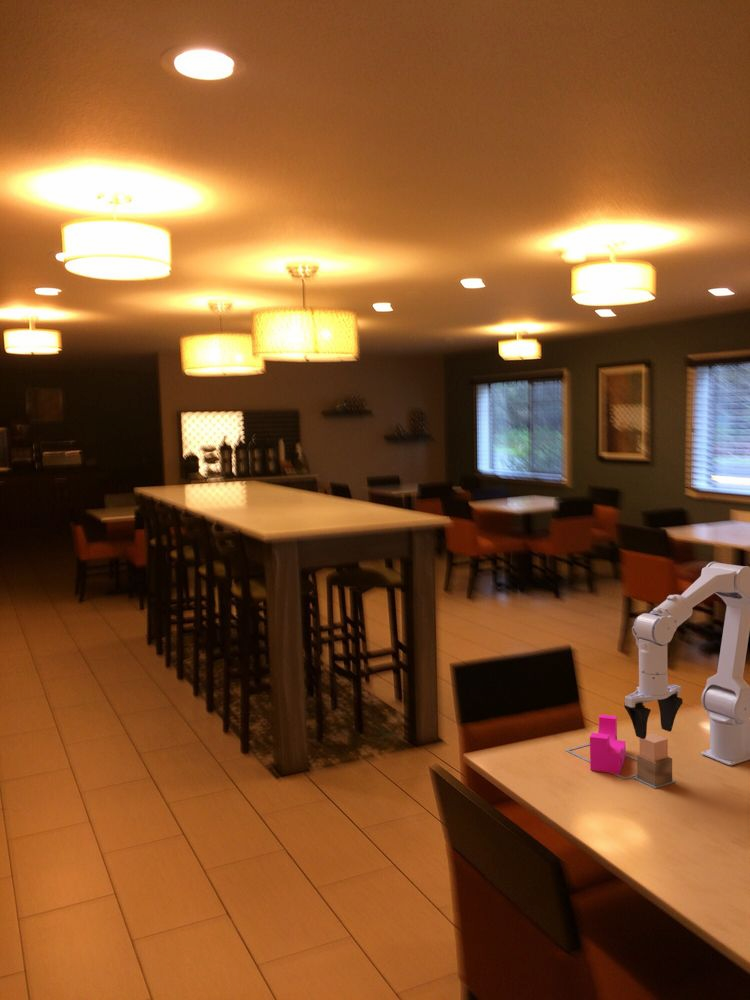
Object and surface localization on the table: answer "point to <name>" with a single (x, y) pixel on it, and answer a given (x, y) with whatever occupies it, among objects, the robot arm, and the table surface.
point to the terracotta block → (654, 747)
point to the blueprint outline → (617, 774)
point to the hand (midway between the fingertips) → (653, 733)
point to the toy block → (607, 747)
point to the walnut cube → (654, 770)
